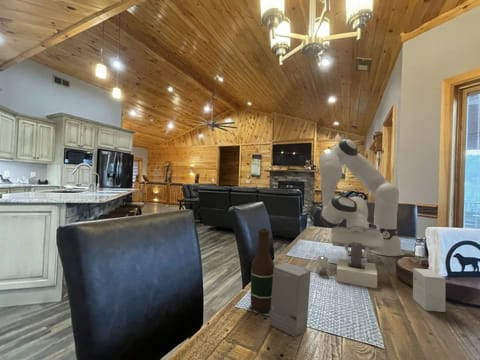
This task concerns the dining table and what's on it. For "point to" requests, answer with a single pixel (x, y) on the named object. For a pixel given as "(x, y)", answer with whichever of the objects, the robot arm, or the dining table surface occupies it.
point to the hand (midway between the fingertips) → (356, 256)
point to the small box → (429, 289)
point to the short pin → (322, 265)
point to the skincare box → (290, 298)
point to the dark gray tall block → (356, 255)
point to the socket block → (357, 274)
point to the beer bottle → (262, 275)
